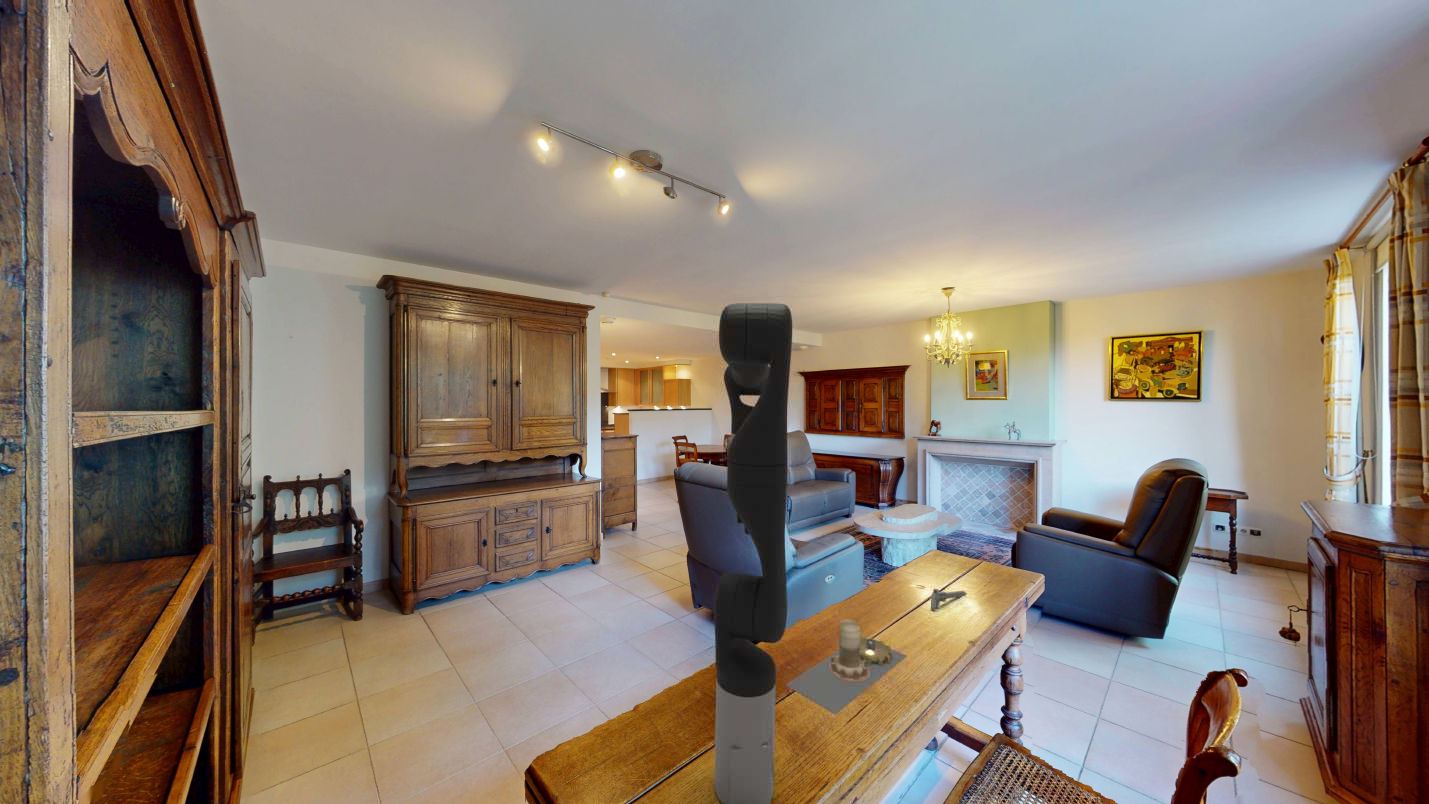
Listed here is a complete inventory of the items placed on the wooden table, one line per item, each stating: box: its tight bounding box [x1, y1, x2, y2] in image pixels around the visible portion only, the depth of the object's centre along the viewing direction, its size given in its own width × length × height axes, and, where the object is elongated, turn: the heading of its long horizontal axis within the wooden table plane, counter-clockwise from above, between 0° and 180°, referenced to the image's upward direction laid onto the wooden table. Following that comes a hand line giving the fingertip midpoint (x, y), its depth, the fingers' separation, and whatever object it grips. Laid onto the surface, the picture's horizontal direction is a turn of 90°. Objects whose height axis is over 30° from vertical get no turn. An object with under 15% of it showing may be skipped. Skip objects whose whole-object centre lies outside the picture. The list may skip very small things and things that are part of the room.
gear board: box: [785, 635, 908, 715], centre depth 104 cm, size 30×12×2 cm, turn 133°
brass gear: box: [860, 636, 892, 666], centre depth 110 cm, size 9×9×3 cm
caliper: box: [930, 588, 968, 612], centre depth 142 cm, size 20×1×6 cm, turn 128°
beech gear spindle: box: [831, 619, 867, 680], centre depth 103 cm, size 8×8×10 cm
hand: (745, 528), depth 104 cm, fingers open, 8 cm apart
